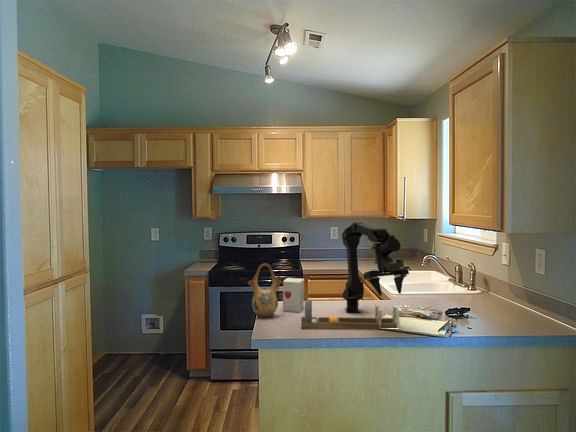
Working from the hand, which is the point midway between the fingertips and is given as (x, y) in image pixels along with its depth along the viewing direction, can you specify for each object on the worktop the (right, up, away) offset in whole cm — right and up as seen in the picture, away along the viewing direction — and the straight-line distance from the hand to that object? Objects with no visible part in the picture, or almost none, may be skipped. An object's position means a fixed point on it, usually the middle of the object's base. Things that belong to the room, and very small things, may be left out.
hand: (390, 294), depth 158 cm
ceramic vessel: (-53, -15, +22) cm, 59 cm away
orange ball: (-22, -13, +8) cm, 27 cm away
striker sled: (-32, -15, +9) cm, 36 cm away
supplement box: (-39, -15, +34) cm, 54 cm away
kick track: (-16, -15, +8) cm, 24 cm away
